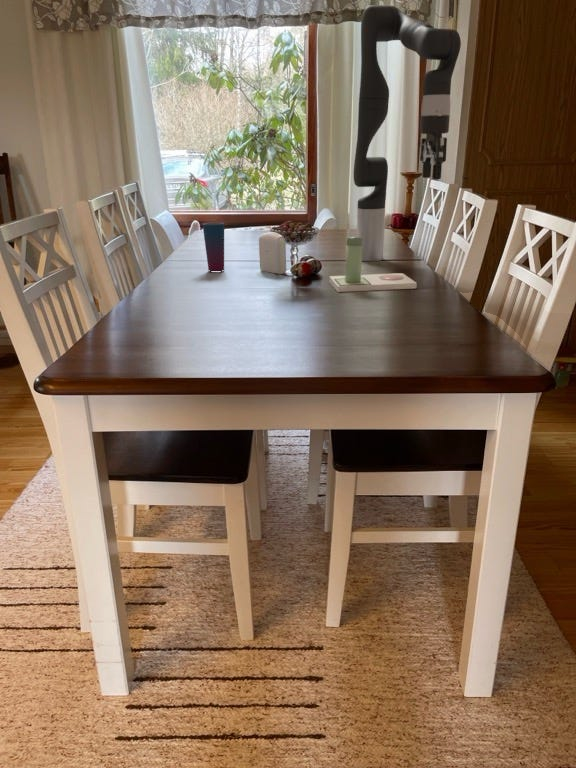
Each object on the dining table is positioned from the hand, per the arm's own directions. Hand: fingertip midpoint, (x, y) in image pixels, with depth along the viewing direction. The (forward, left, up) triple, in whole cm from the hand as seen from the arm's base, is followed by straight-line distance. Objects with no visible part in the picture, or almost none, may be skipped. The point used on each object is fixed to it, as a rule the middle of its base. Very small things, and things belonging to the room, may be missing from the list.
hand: (431, 178), depth 167 cm
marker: (+6, -23, -26) cm, 35 cm away
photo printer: (-21, -43, -28) cm, 56 cm away
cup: (-26, -61, -28) cm, 72 cm away
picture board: (+4, -17, -28) cm, 33 cm away
